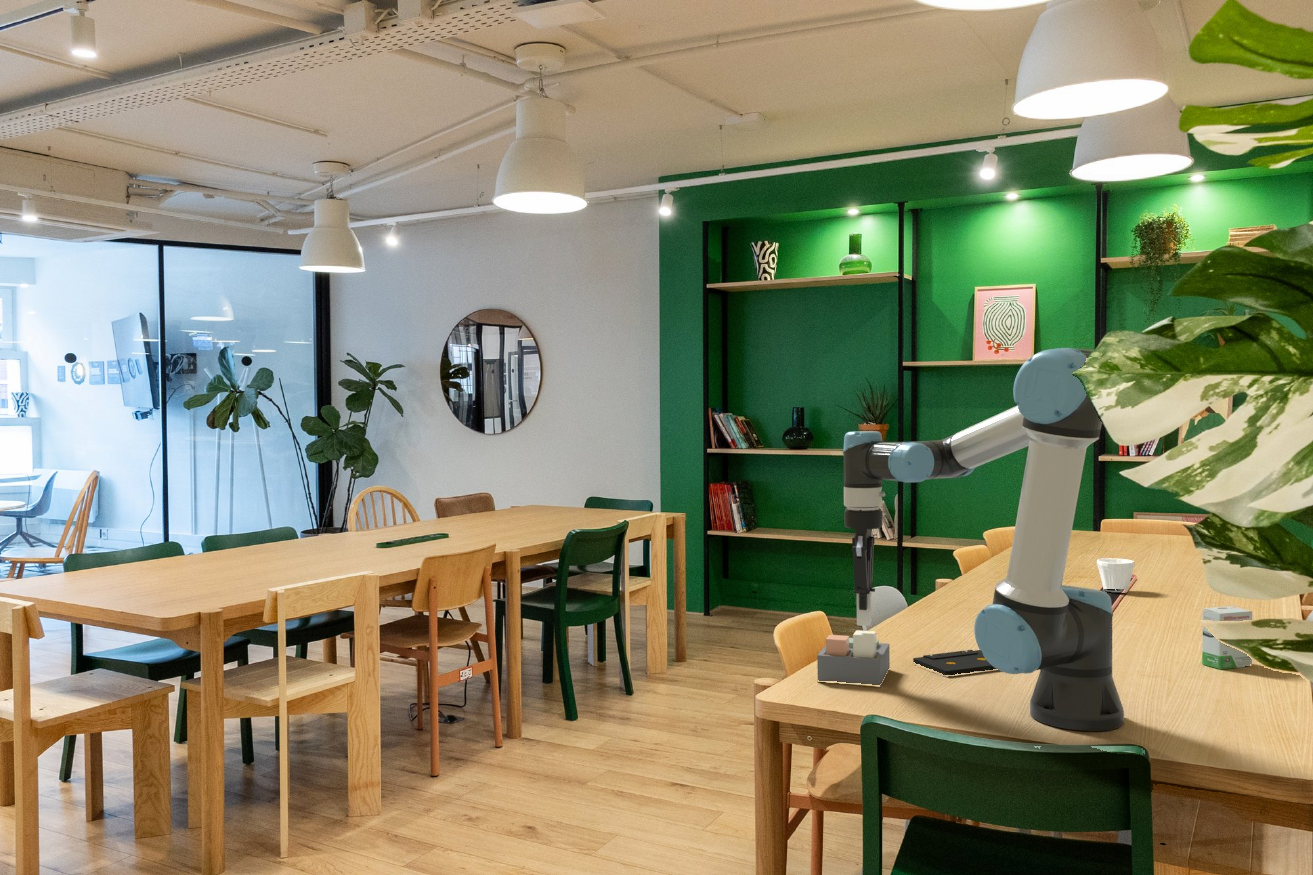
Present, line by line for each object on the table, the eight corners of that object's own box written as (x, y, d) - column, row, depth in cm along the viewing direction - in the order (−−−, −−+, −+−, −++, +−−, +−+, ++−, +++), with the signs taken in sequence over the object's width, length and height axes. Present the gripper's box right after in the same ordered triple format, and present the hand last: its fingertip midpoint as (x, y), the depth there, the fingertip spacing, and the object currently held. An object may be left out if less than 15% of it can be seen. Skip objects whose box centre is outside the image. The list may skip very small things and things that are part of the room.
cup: (1089, 590, 290) (1089, 559, 289) (1116, 588, 293) (1116, 557, 292) (1114, 596, 280) (1114, 564, 280) (1142, 593, 283) (1142, 562, 283)
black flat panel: (981, 658, 216) (981, 648, 216) (1017, 670, 205) (1017, 660, 205) (912, 666, 210) (912, 656, 210) (946, 680, 199) (946, 669, 199)
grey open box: (880, 687, 192) (879, 654, 192) (817, 682, 197) (817, 650, 197) (889, 669, 206) (889, 638, 205) (830, 665, 210) (830, 635, 210)
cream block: (873, 665, 194) (873, 635, 194) (853, 664, 196) (853, 634, 196) (876, 660, 198) (876, 631, 198) (856, 659, 199) (856, 630, 199)
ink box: (1220, 670, 201) (1219, 612, 201) (1200, 664, 206) (1200, 608, 205) (1254, 666, 203) (1253, 609, 203) (1234, 660, 208) (1234, 605, 208)
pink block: (846, 669, 196) (845, 640, 196) (826, 668, 198) (825, 638, 198) (849, 665, 200) (849, 635, 200) (829, 663, 201) (829, 634, 201)
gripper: (877, 511, 189) (878, 633, 189) (886, 505, 201) (887, 619, 202) (838, 510, 191) (839, 630, 192) (849, 504, 204) (850, 617, 204)
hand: (864, 624), depth 197 cm, fingers closed
